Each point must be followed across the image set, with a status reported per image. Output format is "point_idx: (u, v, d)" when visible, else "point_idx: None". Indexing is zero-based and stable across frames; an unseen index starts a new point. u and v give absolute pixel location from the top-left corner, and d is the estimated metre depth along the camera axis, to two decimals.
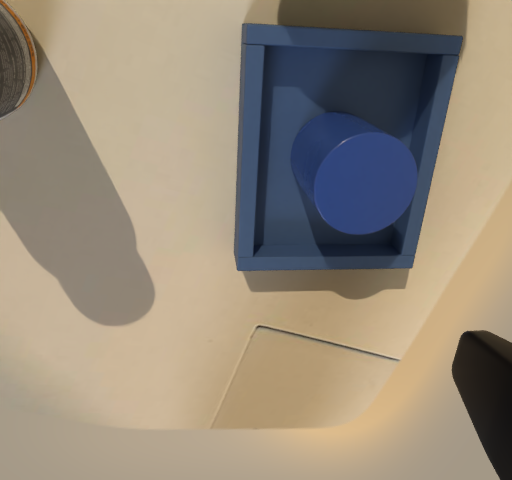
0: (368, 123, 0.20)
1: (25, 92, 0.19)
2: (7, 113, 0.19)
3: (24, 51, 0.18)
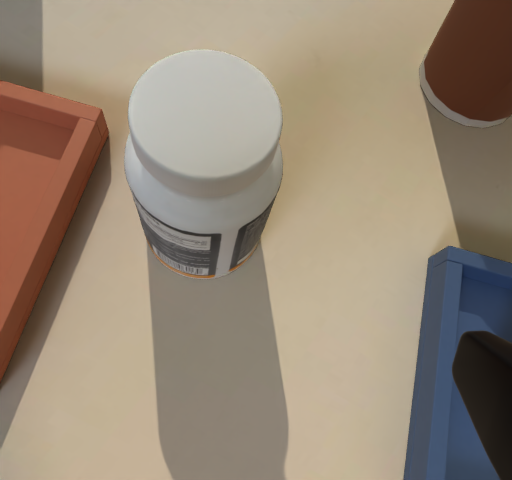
0: None
1: (248, 255, 0.21)
2: (233, 262, 0.20)
3: None
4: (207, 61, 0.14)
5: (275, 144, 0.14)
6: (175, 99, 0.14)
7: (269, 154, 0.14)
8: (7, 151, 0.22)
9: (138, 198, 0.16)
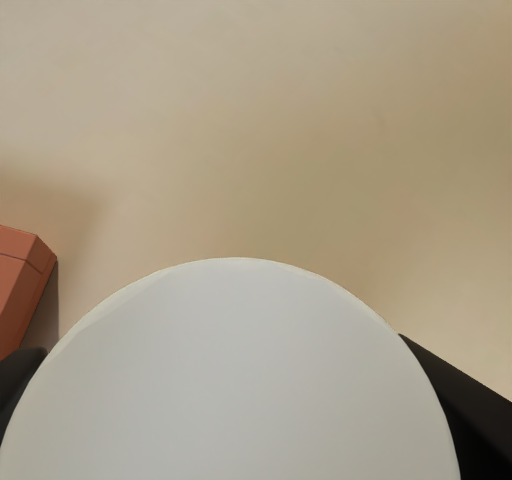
0: None
1: None
2: None
3: None
4: (236, 299, 0.05)
5: None
6: (141, 447, 0.04)
7: None
8: None
9: None
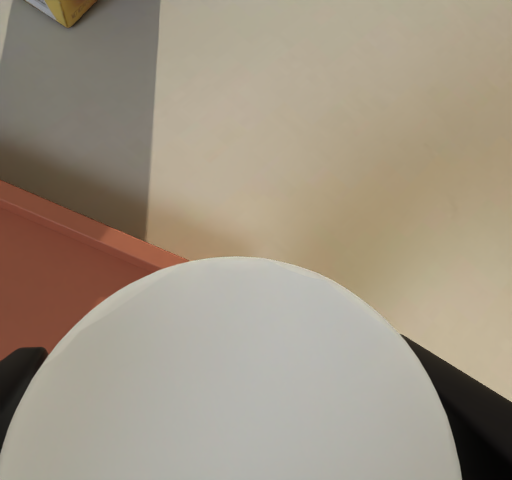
0: None
1: None
2: None
3: None
4: (238, 298, 0.05)
5: None
6: (143, 445, 0.04)
7: None
8: None
9: None
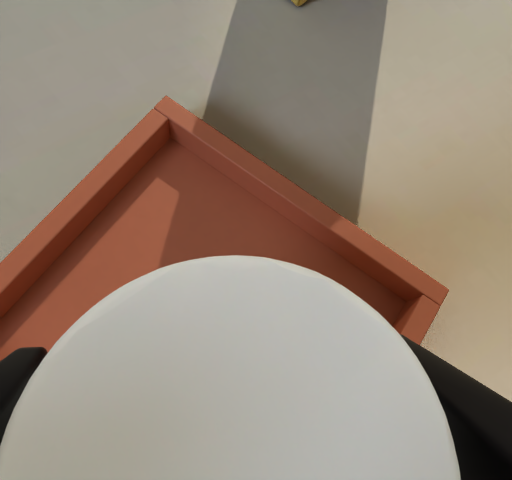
0: None
1: None
2: None
3: None
4: (237, 297, 0.05)
5: None
6: (142, 445, 0.04)
7: None
8: None
9: None
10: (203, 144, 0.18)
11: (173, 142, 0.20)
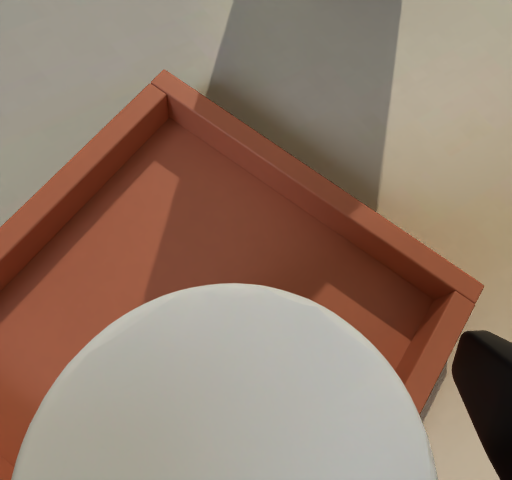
0: None
1: None
2: None
3: None
4: (235, 323, 0.05)
5: None
6: (145, 461, 0.05)
7: None
8: (330, 292, 0.16)
9: None
10: (206, 123, 0.16)
11: (172, 123, 0.18)
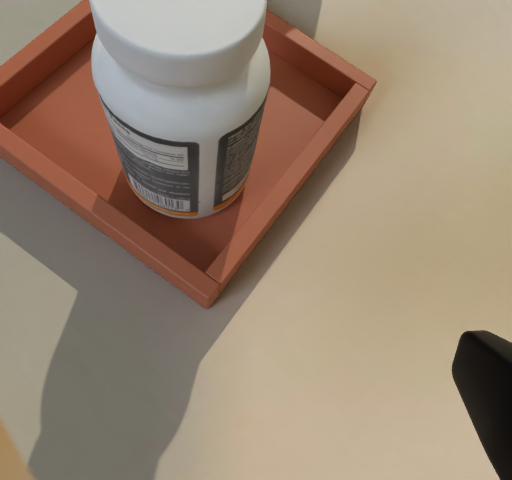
0: None
1: (234, 191, 0.19)
2: (217, 195, 0.18)
3: None
4: None
5: (257, 24, 0.12)
6: None
7: (250, 34, 0.12)
8: (273, 92, 0.23)
9: (105, 100, 0.14)
10: None
11: None
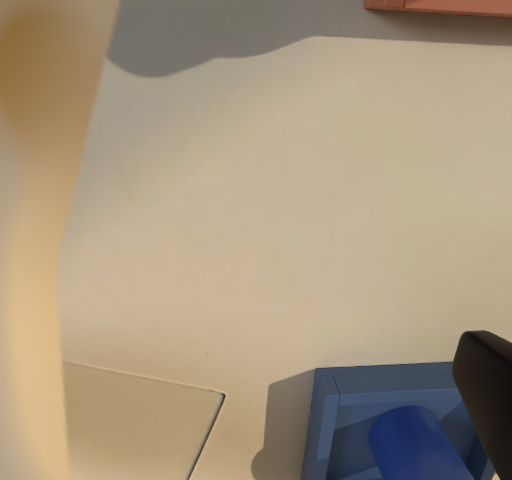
0: None
1: None
2: None
3: None
4: None
5: None
6: None
7: None
8: None
9: None
10: None
11: None
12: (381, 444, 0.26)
